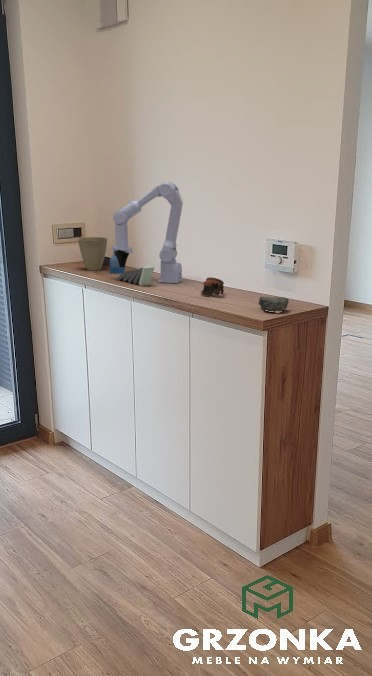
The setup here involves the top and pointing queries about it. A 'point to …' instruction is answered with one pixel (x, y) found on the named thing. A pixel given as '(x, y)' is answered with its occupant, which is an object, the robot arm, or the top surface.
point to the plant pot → (93, 251)
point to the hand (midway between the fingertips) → (122, 267)
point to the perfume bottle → (115, 265)
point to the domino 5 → (146, 275)
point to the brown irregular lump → (212, 287)
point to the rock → (273, 303)
